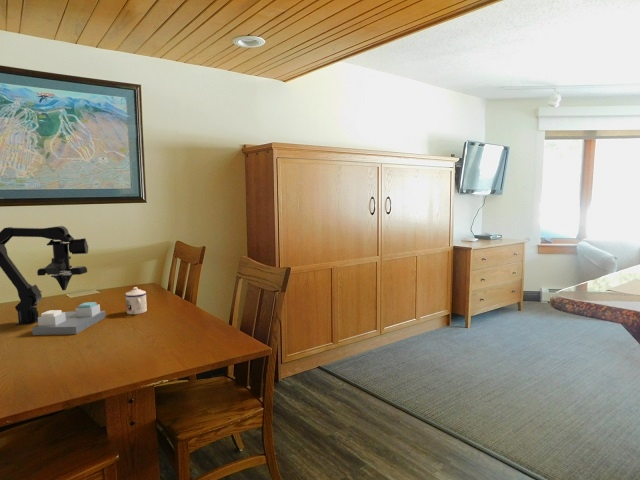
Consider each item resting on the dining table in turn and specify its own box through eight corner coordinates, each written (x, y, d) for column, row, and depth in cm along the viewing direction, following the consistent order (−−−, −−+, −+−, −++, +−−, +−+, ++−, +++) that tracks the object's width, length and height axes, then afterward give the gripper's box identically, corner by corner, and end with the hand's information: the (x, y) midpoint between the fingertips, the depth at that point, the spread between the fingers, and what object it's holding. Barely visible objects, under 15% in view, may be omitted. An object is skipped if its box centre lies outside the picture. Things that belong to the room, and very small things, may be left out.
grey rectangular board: (32, 335, 163) (31, 318, 163) (67, 318, 186) (66, 303, 186) (76, 334, 164) (75, 317, 163) (105, 317, 186) (104, 303, 186)
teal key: (79, 312, 178) (78, 305, 178) (85, 309, 183) (84, 302, 183) (90, 312, 178) (90, 305, 178) (96, 308, 183) (96, 302, 183)
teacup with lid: (124, 311, 195) (122, 287, 194) (144, 308, 201) (143, 284, 199) (129, 317, 186) (128, 291, 184) (151, 313, 191) (149, 288, 190)
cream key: (41, 321, 166) (41, 313, 166) (49, 317, 171) (49, 310, 171) (54, 320, 166) (53, 313, 166) (62, 317, 171) (61, 310, 171)
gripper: (26, 258, 174) (30, 295, 175) (72, 257, 174) (75, 294, 176) (44, 254, 185) (47, 289, 186) (86, 253, 185) (89, 288, 187)
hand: (64, 290), depth 183 cm, fingers closed
